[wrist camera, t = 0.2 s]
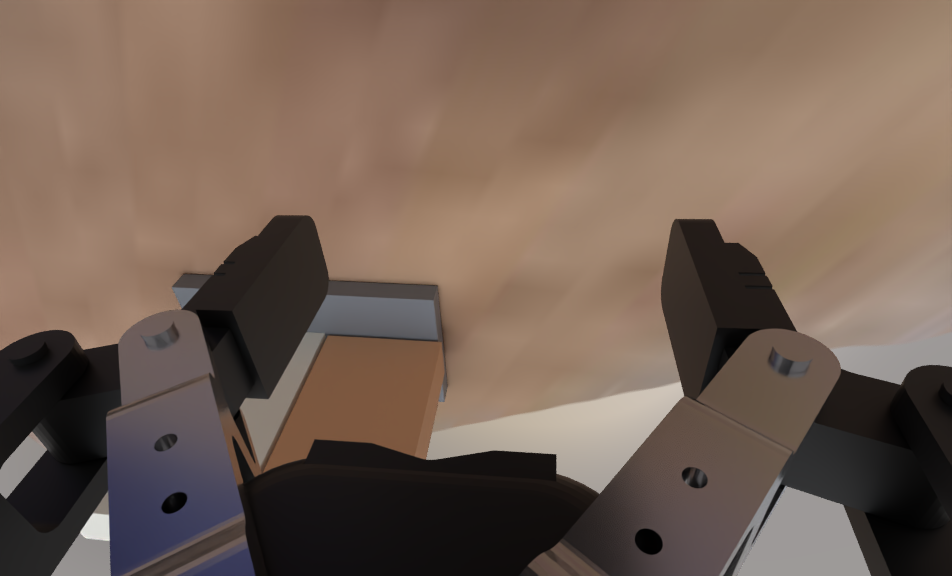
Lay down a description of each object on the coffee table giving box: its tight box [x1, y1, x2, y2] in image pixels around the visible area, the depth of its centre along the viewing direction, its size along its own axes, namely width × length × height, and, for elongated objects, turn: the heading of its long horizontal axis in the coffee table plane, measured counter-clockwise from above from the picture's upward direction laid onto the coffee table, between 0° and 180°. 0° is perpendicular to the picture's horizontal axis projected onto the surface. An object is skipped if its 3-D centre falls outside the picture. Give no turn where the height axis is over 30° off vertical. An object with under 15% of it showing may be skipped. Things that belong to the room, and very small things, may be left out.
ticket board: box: [80, 274, 448, 541], centre depth 34 cm, size 10×18×16 cm, turn 92°
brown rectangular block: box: [263, 335, 445, 473], centre depth 33 cm, size 3×8×14 cm, turn 92°
